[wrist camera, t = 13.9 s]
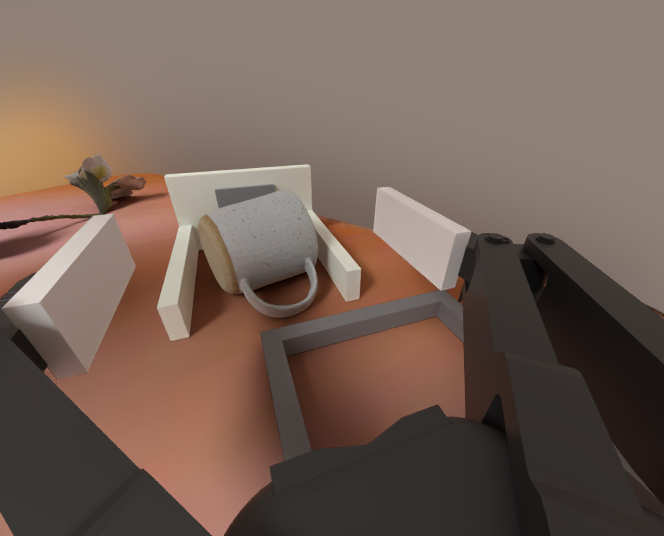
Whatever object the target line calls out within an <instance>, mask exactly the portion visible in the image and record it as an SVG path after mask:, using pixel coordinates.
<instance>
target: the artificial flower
mask: <svg viewBox="0 0 664 536" xmlns="http://www.w3.org/2000/svg"><path fill="white" fill-rule="evenodd" d="M81 168H82V169H81ZM110 176H111V168H110V166H109V164H108V163H107V161H105V159H104V158H103V157H102V156H101V155H100V154H97V155H95V156H94V157H91V158H86V159H85V160H83V166H81V167H80V169H79V171H76V172H74V173H72V174H71V175H68V176H66V175H64V177H66V178H67V179H68V180H70V184H71V185H73V186H76V187H78V188H80V189H82V190H84V191H85V192H86V193H88V195H89V196H90V197H91V198H92V199H93V200H94V203H96V205H97V207H98V208H99V212H100V213H98V214H91V215H88V214H86V215H80V214H79V215H71V216H70V215H59V216H53V215H52V216H47V215H46V216H43V217H39V218H34V217H33V218H31V219H28V220H20V221H10V222H3V223H0V229H14V228H17V227H20V226H21V225H26V224H27V223H29V222H35V221H46V220H53V219H60V218H71V219H76V218H92V217H93V216H96V215H103V214H104V213H105V212H106V210H107V209H109V208H110V207H111V206H112V202H113V201H112V199H116V198H120V197H127V196H130V195H132V194H133V192H132V191H131V190H140V189H142V188H144V186H145V183H146V181H145V179H144V178H143V177H138V178H136V177H134V176H133V175H126V176H123V177H121V178H118V179H116V180H115V182H112V183H111V184H109V185H108V186H107V187H105V188H104V186H103V182H105V181H106V180H108V179H109V178H110Z"/></svg>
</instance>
